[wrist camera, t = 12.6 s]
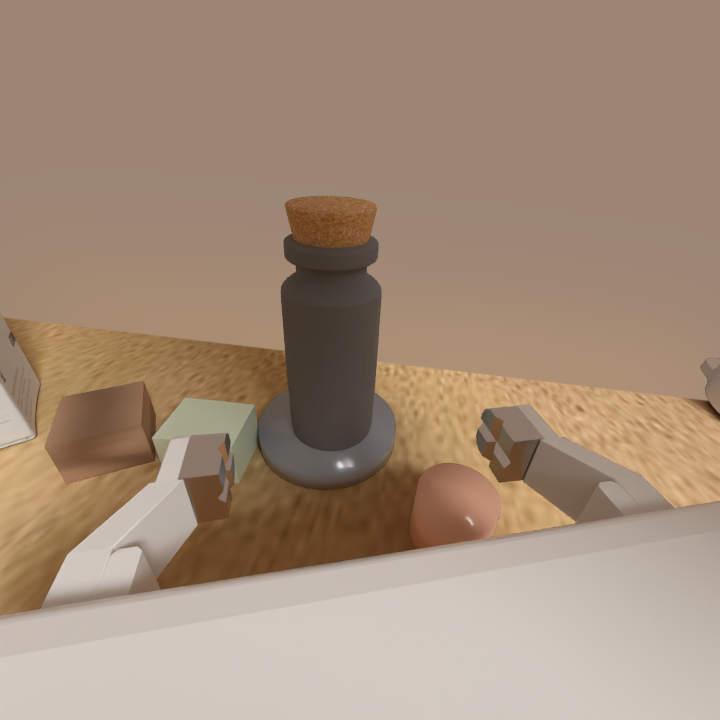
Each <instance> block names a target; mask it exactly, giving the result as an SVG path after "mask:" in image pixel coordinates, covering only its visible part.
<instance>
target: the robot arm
mask: <svg viewBox="0 0 720 720" xmlns="http://www.w3.org/2000/svg"><path fill="white" fill-rule="evenodd" d="M701 370H702V372H703V373H704V374H705V376H706V377H707V379H708V382H707V385H706V388H705V393H706V396H707V398H708V400H709V402H710V403H711V405H712V406H713V407H714V408H715V409H716V410H717V412H718V413H719V414H720V358H708V359H706V360H705V362H704V363H703V364H702V365H701ZM481 419H482V421H483V422H484V423H483V424H482V425H481V426H480V427H479V428H478V431H477V435H476V439H477V446H478V449H479V451H480V453H481V454H482V456H483V457H485V458H487V459H488V460H490V464H489V467H490V469H491V471H492V472H493V474H494V476H495V477H496V479H497V480H498V482H499V483H501V482H510V481H520V480H523V482H524V483H526V484H527V485H528V486H530V487H531V488H532V489H534V490H535V491H536V492H538V493H539V494H540V495H542V496H543V497H544V498H546V499H547V500H548V501H549V502H551V503H552V504H553V505H555V506H556V507H557V508H559V509H560V510H561V511H563V512H564V513H565V514H567V515H568V516H569V517H571V518H572V519H573V520H575V521H576V523H575V524H571V525H565V526H559V527H553V528H546V529H540V530H534V531H527V532H521V533H515V534H509V535H502V536H496V537H490V538H484V539H478V540H471V541H465V542H459V543H453V544H446V545H440V546H434V547H428V548H421V549H415V550H409V551H402V552H396V553H390V554H383V555H377V556H371V557H364V558H358V559H352V560H345V561H339V562H333V563H326V564H320V565H314V566H307V567H301V568H295V569H289V570H282V571H276V572H270V573H263V574H257V575H251V576H245V577H238V578H232V579H226V580H219V581H213V582H207V583H201V584H194V585H188V586H182V587H175V588H169V589H163V590H161V588H160V586H159V584H158V582H157V580H156V579H157V578H158V577H159V575H160V574H161V573H162V571H163V570H164V569H165V567H166V566H167V565H168V563H169V562H170V561H171V559H172V558H173V557H174V556H175V554H176V553H177V552H178V550H179V549H180V548H181V546H182V545H183V544H184V542H185V541H186V540H187V538H188V537H189V536H190V534H191V533H192V532H193V530H194V529H195V528H196V526H197V525H198V524H197V523H201V522H207V521H213V520H220V519H226V518H229V517H230V509H231V502H232V495H231V490H230V488H231V487H232V486H233V485H234V478H235V463H234V456H233V453H232V452H231V451H230V444H231V441H230V437H229V434H228V433H217V434H203V435H192V436H179V437H173V438H172V439H171V440H170V442H169V445H168V447H167V450H166V453H165V456H164V459H163V462H162V464H161V467H160V470H159V473H158V476H157V478H156V481H155V482H154V483H149V484H148V485H147V486H145V487H144V488H143V489H142V490H141V491H140V492H139V493H137V494H136V495H135V496H134V497H133V498H132V499H130V500H129V501H128V502H127V503H126V504H125V505H124V506H122V507H121V508H120V509H119V510H118V511H117V512H115V513H114V514H113V515H112V516H111V517H110V518H109V519H107V520H106V521H105V522H104V523H103V524H102V525H101V526H99V527H98V528H97V529H96V530H95V531H94V532H92V533H91V534H90V535H89V536H88V537H87V538H86V539H84V540H83V541H82V542H81V543H80V544H79V545H78V546H76V547H75V548H74V549H73V550H72V551H71V552H69V553H68V554H67V556H66V558H65V560H64V562H63V564H62V566H61V568H60V570H59V572H58V574H57V576H56V578H55V580H54V582H53V584H52V586H51V588H50V590H49V592H48V594H47V596H46V598H45V600H44V602H43V604H42V606H41V608H40V609H37V610H31V611H24V612H18V613H12V614H5V615H0V720H720V501H716V502H710V503H704V504H697V505H691V506H685V507H679V508H674V507H673V506H672V505H671V504H670V503H669V502H668V501H667V500H666V499H665V498H664V497H663V496H662V495H661V494H660V493H659V492H658V491H657V490H656V489H655V488H653V487H652V486H651V485H650V484H649V483H648V482H647V481H646V480H645V479H644V478H643V477H642V476H641V475H639V474H637V473H635V472H633V471H631V470H629V469H627V468H625V467H623V466H621V465H619V464H617V463H615V462H613V461H611V460H609V459H607V458H605V457H603V456H601V455H599V454H597V453H595V452H593V451H591V450H589V449H587V448H585V447H583V446H581V445H579V444H577V443H575V442H573V441H571V440H569V439H567V438H565V437H559V436H558V435H557V434H556V433H555V432H554V431H553V430H552V429H551V427H550V426H549V425H548V424H547V423H546V422H545V421H544V420H543V419H542V417H541V416H540V415H539V414H538V413H537V412H536V411H535V410H534V409H533V407H531V406H530V405H518V406H513V407H512V406H510V407H501V408H491V409H485V410H484V412H483V413H482V417H481Z"/></svg>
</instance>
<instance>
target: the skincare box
mask: <svg viewBox="0 0 720 720" xmlns="http://www.w3.org/2000/svg"><path fill="white" fill-rule="evenodd" d="M39 388H40V382H39V380H38V378H37V376H36V374H35V373H34V371H33V369H32V367H31V365H30V364H29V362H28V360H27V358H26V357H25V355H24V353H23V352H22V350H21V348H20V346H19V345H18V343H17V341H16V339H15V337H14V336H13V334H12V333H11V331H10V329H9V327H8V325H7V324H6V322H5V320H4V318H3V317H2V315H1V313H0V448H4V447H7V446H11V445H14V444H17V443H21V442H24V441H28V440H30V439H33V438H34V437H35V436H36V428H35V411H36V401H37V395H38V390H39Z"/></svg>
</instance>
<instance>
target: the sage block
mask: <svg viewBox="0 0 720 720" xmlns="http://www.w3.org/2000/svg"><path fill="white" fill-rule="evenodd" d="M217 433H228V434H229V437H230V441H231V444H230V451H231V452H232V453H233V456H234V463H235V478H234V483H236V484H239V483H240V481H241V479H242V477H243V475H244V472H245V470H246V468H247V466H248V464H249V462H250V460H251V458H252V456H253V453H254V451H255V449H256V447H257V445H258V443H259V434H258V423H257V416H256V409H255V405H254V404H244V403H235V402H226V401H216V400H207V399H197V398H188V397H185V398H184V399H183V401H182V402H181V403H180V404H179V406H178V407H177V408H176V409H175V410H174V412H173V413H172V414H171V415H170V416H169V418H168V419H167V420H166V421H165V423H164V424H163V425H162V426H161V427H160V429H159V430H158V431H157V432H156V433H155V435H154V436H153V437H152V440H153V443H154V446H155V448H156V451H157V454H158V456H159V459H160V462H161V464H162V462H163V459H164V456H165V453H166V450H167V447H168V445H169V442H170V440H171V439H172V438H173V437H179V436H192V435H203V434H217Z"/></svg>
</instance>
